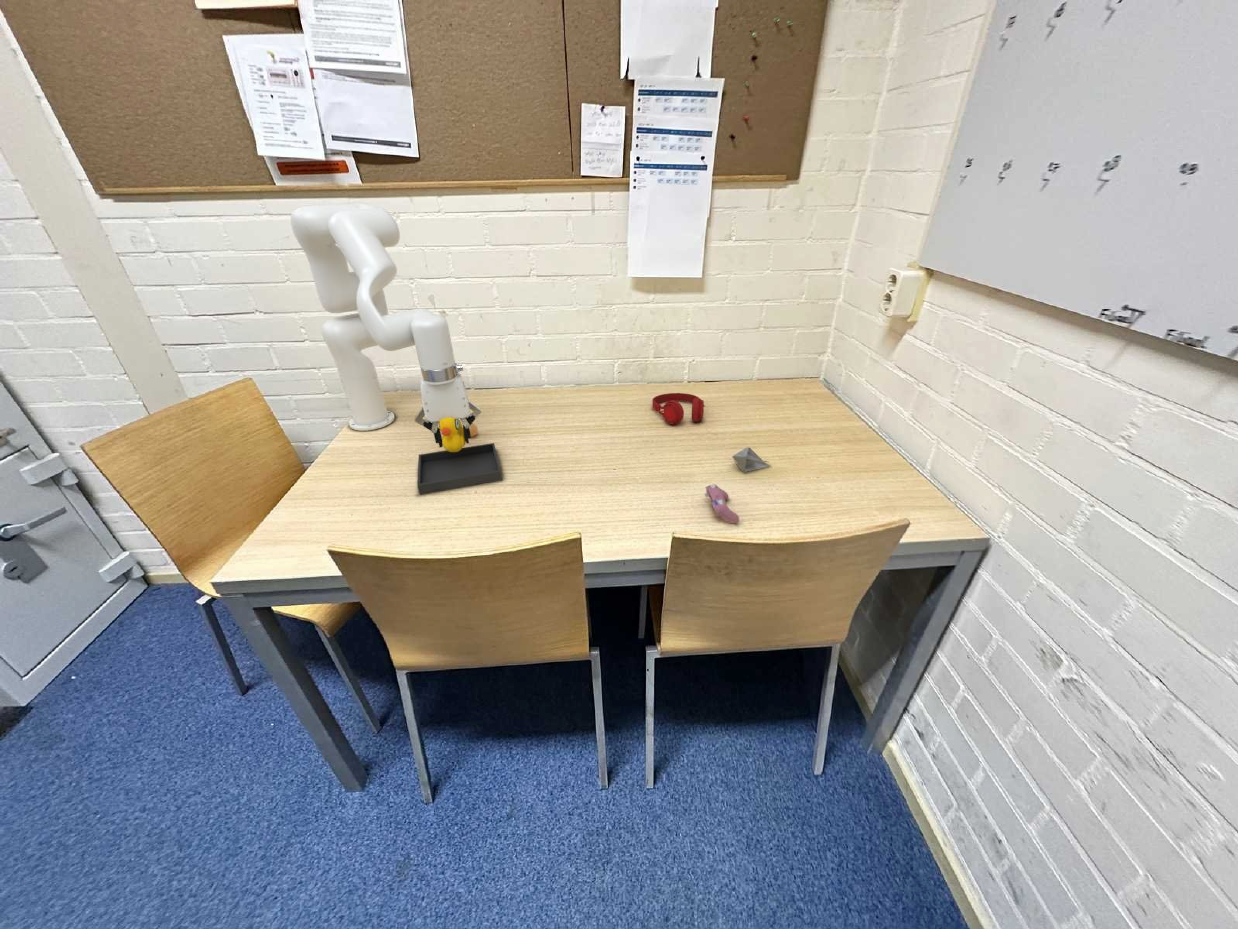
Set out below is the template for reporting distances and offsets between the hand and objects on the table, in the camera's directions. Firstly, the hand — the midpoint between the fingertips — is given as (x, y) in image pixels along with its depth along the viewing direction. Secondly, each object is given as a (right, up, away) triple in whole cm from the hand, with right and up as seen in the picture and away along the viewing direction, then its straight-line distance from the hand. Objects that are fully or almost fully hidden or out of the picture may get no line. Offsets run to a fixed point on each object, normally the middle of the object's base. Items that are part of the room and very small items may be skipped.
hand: (454, 442), depth 120 cm
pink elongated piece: (+63, -16, -11) cm, 66 cm away
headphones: (+59, +10, +33) cm, 68 cm away
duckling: (0, -2, +1) cm, 2 cm away
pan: (0, -7, +4) cm, 8 cm away
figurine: (-3, +3, +21) cm, 22 cm away
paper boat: (+73, -7, +3) cm, 73 cm away
